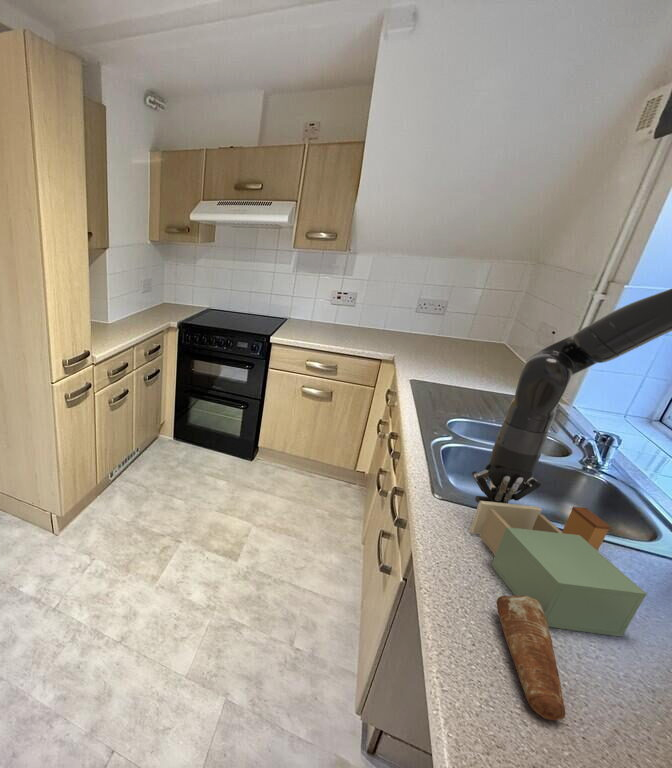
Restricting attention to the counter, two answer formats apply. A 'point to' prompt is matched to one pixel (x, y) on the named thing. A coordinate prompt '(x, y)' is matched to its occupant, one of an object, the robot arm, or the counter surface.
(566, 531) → the brown block
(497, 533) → the drawer
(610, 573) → the cabinet
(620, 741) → the counter surface
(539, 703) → the bread
